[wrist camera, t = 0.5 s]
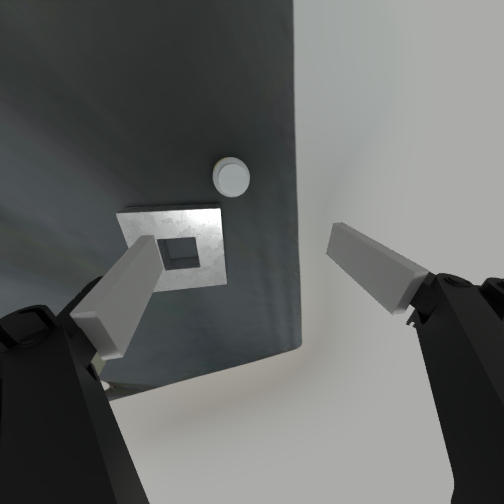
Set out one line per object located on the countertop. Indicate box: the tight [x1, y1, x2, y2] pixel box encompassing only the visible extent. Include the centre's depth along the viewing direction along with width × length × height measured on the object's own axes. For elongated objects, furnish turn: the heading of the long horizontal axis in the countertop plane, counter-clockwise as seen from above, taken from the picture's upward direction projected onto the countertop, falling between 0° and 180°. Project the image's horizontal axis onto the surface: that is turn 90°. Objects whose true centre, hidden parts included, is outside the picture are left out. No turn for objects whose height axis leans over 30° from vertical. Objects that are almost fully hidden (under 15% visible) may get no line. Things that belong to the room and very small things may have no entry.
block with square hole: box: [116, 203, 227, 292], centre depth 34 cm, size 16×16×4 cm
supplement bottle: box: [213, 157, 250, 197], centre depth 27 cm, size 5×5×10 cm
